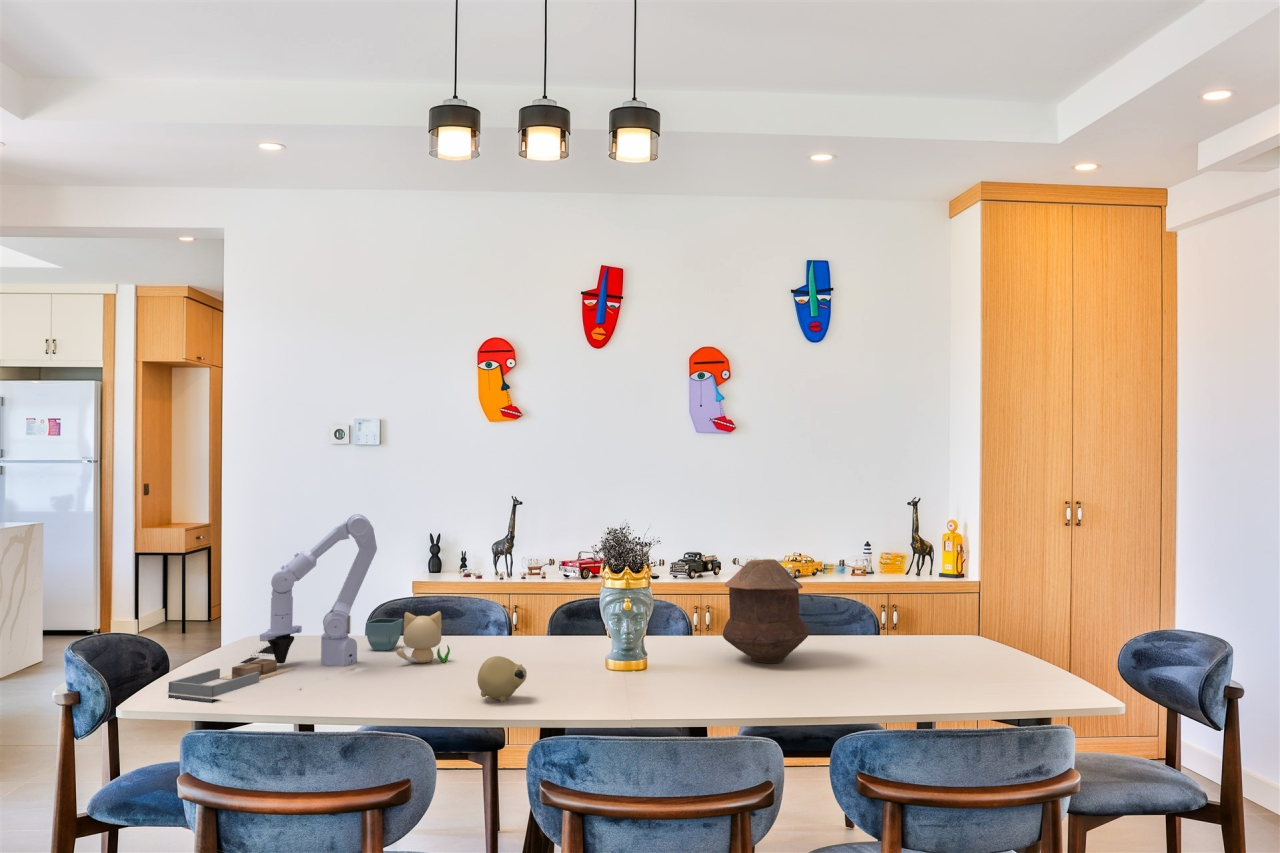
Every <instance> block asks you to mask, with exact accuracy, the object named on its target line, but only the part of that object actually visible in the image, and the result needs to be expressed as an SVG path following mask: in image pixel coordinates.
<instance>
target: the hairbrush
mask: <svg viewBox="0 0 1280 853" xmlns="http://www.w3.org/2000/svg"><path fill="white" fill-rule="evenodd" d="M256 654H262V655H261V657H265V656H266V657H270V656H274V653H273V650H272V648H271V646H270V645H266V646H265V647H261V648H258V649H257V650H255V654H254V655H253V653H252V654H250V657H249V658H246V659H244V660H242V661H241V662H240V664H245V663H249V662H252V661H256V660H259V659H260V656H259V655H256Z"/></svg>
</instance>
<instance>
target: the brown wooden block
mask: <svg viewBox="0 0 1280 853" xmlns="http://www.w3.org/2000/svg"><path fill="white" fill-rule="evenodd" d="M248 663H249V664H260V665H261V675H265V674H269V673H272V672H275V671H277V668H278V665H277V664H278V663H277V660H275V659H271V658H259V659H256V660H254V661H252V662H248Z"/></svg>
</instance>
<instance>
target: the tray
mask: <svg viewBox="0 0 1280 853" xmlns="http://www.w3.org/2000/svg"><path fill="white" fill-rule="evenodd" d="M215 680H223V681H222V682H219V683H215V684H213V685H212V684H211V685H210V684H206V683H208V682H211V681H215ZM258 683H260V681H259V672H255V673H252V674H248V675H245V676H242V677H239V678H235V679H224V678H222V677H221V668H220V667H219V668H214V669H210V670H208V671H207V670H206V671H203V672H200V673H197V674H193V675H189V676H186V677H183V678H179V679H176V680H175V679H174V680H172V681H168V690H167V691H168V693H169V694H167V695H168V698H167V699H169V698H175V699H174V700H178V699H181V700H180V701H189V702H198V703H207V704H208V703H209V704H213V703H214V704H215V703H216V702H217V703H218V702H220V701H221V699H218V698H217V699H216V698H213V697H217V696H219V695H224V694H226V693H228V692H232V691H235V690H238V689H243V688H245V687H247V686H252V685H254V684H258ZM170 693H171V694H170Z"/></svg>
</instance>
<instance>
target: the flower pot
mask: <svg viewBox="0 0 1280 853" xmlns="http://www.w3.org/2000/svg"><path fill="white" fill-rule="evenodd" d="M403 622H404V618H375V619H371V620H369V621H367V622H365V628H366V630H365V631H366V638H367V642H368V643H369V645H370V647H371V649H372V650H373V651H386V650H388V651H390V650H392V649H394V648H396V646H397V644H398V642H399V640H400V639H401V634H402V627H403Z"/></svg>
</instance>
